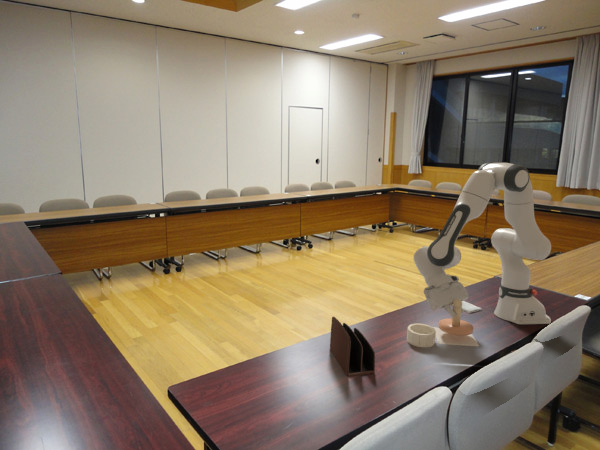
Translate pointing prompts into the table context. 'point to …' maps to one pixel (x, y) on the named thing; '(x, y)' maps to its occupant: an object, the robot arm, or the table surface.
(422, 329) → the bowl
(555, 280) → the table surface
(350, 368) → the letter holder
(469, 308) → the hard drive
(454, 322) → the salmon dome
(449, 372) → the table surface
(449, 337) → the mat
